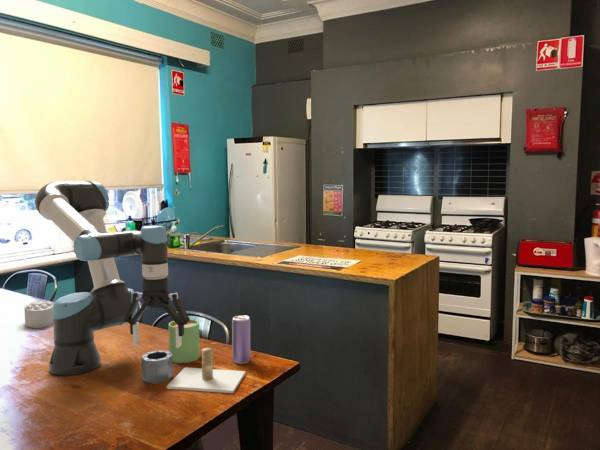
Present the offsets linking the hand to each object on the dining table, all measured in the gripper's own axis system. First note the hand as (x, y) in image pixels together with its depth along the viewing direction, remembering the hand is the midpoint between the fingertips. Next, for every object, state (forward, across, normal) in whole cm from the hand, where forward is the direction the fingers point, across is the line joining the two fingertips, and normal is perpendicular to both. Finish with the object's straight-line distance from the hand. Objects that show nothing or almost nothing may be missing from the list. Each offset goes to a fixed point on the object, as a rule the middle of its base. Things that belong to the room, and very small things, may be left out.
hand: (157, 345), depth 147 cm
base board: (+10, +16, 0) cm, 19 cm away
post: (+10, +16, 0) cm, 19 cm away
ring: (+10, 0, 0) cm, 10 cm away
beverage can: (+11, +22, +17) cm, 30 cm away
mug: (+10, 0, +18) cm, 21 cm away
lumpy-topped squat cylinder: (+9, -72, +44) cm, 86 cm away
